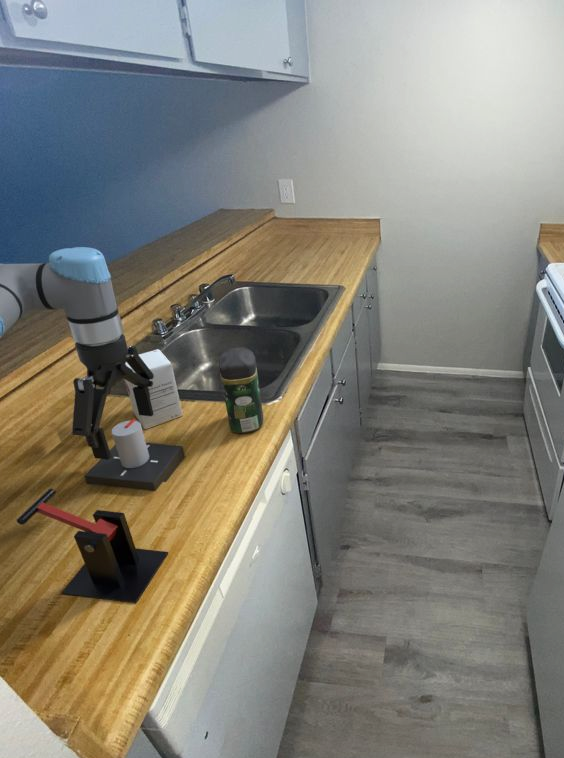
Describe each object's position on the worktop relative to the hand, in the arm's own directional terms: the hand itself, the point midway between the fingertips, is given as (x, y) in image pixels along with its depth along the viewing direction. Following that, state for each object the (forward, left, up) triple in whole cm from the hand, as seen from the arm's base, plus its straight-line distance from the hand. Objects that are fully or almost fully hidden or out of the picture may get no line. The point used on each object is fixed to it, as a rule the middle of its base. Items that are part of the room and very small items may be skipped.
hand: (126, 434), depth 92 cm
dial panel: (0, 0, -9) cm, 9 cm away
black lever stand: (+11, -23, -9) cm, 27 cm away
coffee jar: (+15, +19, -10) cm, 26 cm away
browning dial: (0, 0, -6) cm, 6 cm away
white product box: (-7, +19, -10) cm, 22 cm away
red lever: (+7, -23, +1) cm, 24 cm away
